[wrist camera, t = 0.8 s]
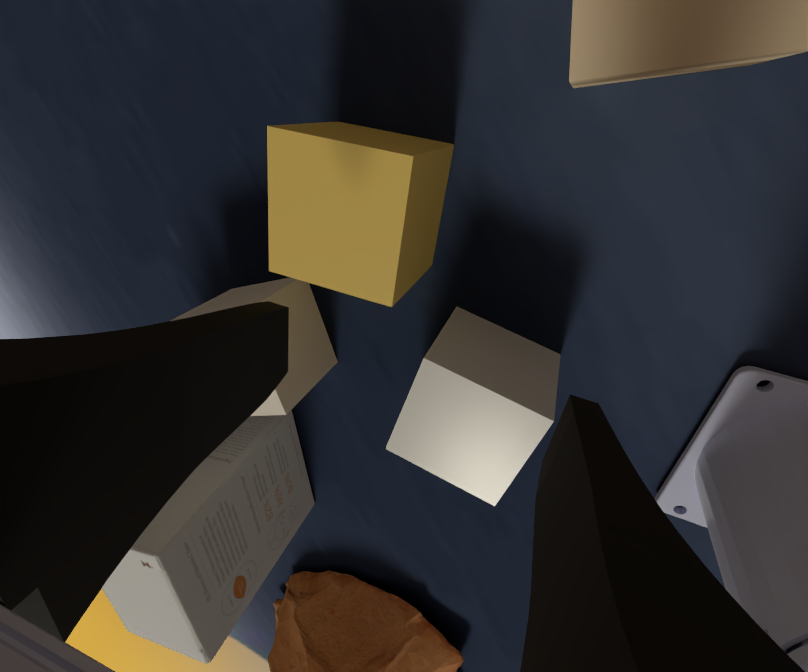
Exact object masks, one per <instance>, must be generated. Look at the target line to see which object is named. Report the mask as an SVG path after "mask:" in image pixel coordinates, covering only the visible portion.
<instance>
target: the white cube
mask: <svg viewBox="0 0 808 672" xmlns="http://www.w3.org/2000/svg"><path fill="white" fill-rule="evenodd" d="M266 301H270V302H273V303H276V304H280V305H283V306H286V307H289V338H288V373H287V374H286V375H285V377H284V378H283V379H282V381H281V382H280V383H279V385H278V386H277V387H276V389H275V390H274V391H273V392H272V394H271V395H270V396H269V397H268V399H267V400H266V401H265V402H264V403H263V404H262V405H261V406H260V407H259V408H258V409H257V410H256V411H255V412H254V413H253V414H252V415H251V416H269V415H287V414H288V413H289V412H290V411H291V410H292V409H293V408H294V406H295V405H296V404H297V403H298V402H299V401H300V400H301V399H302V398H303V397H304V396H305V395H306V394H307V393H308V392H309V391H310V390H311V389H312V388H313V387H314V386H315V385H316V384H317V383H318V382H319V381H320V380H321V379H322V378H323V376H324V375H325V374H326V373H327V372H328V371H329V370H330V369H331V368H332V367H333V366H334V365H335V364H336V363H337V362H338V361H337V359H336V356H335V353H334V351H333V348H332V345H331V342H330V340H329V337H328V334H327V331H326V329H325V326H324V323H323V320H322V318H321V315H320V312H319V309H318V307H317V304H316V301H315V298H314V296H313V293H312V290H311V287H310V285H309V283H308V282H304V281H301V280H298V279H294V278H291V277H290V278H285V279H280V280H274V281H269V282H264V283H259V284H254V285H249V286H244V287H239V288H234V289H230V290H229V291H227V292H225V293H223V294H221V295H219V296H217V297H215V298H213V299H211V300H209V301H207V302H205V303H203V304H202V305H200V306H198V307H196V308H194V309H192V310H190V311H188V312H186V313H184V314H182V315H180V316H178V317H177V318H175V319H173V320H171V321H174V320H179V319H184V318H189V317H193V316H197V315H202V314H206V313H211V312H215V311H219V310H224V309H228V308H233V307H237V306H242V305H247V304H252V303H258V302H266Z"/></svg>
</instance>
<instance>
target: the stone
mask: <svg viewBox="0 0 808 672" xmlns="http://www.w3.org/2000/svg"><path fill="white" fill-rule="evenodd" d="M286 586H287V589H286V592H285V597H284V599H283V600H282V599H277V600H276V601H275V603H274V607H275V617H276V634H275V641H274V645H273V647H272V650H271V652H270V654H269V656H268V663H269V666H270V671H271V672H456V671H457V669H458V668H459V667H460V666H461V664H462V662H463V656H462V655H461V654H460V652H459V651H458V650H457V649H456V648H455V647H454V646H452V645H451V644H450V643H449V642H448V641H447V640H446V639H445V637H444V636H443V635H442V634H441V633H440V632H439V631H438V630H437V629H436V628H435V627H434V626H433V625H432V624H431V623H429V622H428V621H427V620H426V619H425V618H424V617H423V616H422V614H421V613H420V612H419V611H418V610H417V609H416V608H415V607H413V606H412V605H410V604H409V603H407V602H405V601H404V600H402V599H401V598H399V597H397V596H395V595H393V594H390V593H386V592H385V591H383V590H381V589H379V588H377V587H374V586H372V585H369V584H367V583H365V582H363V581H361V580H359V579H357V578H355V577H354V576H351V575H348V574H341V573H338V572H333V571H330V570H329V571H325V572H322V573H313V572H308V571H302V572H299V573H296V574H293V575H291V576H290V577H289V581H288V582H286Z"/></svg>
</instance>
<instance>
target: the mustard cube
mask: <svg viewBox="0 0 808 672" xmlns="http://www.w3.org/2000/svg"><path fill="white" fill-rule="evenodd" d="M453 148H454V144H450V143H445V142H440V141H435V140H430V139H425V138H420V137H415V136H410V135H404V134H399V133H394V132H389V131H384V130H379V129H374V128H369V127H364V126H359V125H354V124H349V123H343V122H322V123H306V124H291V125H275V126H267V151H268V233H269V271H270V272H274V273H277V274H281V275H284V276H287V277H291V278H294V279H298V280H301V281H304V282H308V283H311V284H315V285H318V286H321V287H325V288H328V289H332V290H335V291H338V292H342V293H345V294H349V295H352V296H355V297H359V298H362V299H366V300H369V301H372V302H376V303H379V304H383V305H386V306H389V307H393V305H394V304H395V303H396V302H397V301H398V300H399V299H400V298H401V297H402V296H403V295H404V294H405V293H406V292H407V291H408V290H409V289H410V288H411V287H412V286H413V285H414V283H415V282H416V281H417V280H418V279H419V278H420V277H421V276H422V275H423V274H424V273H425V272H426V271H427V270H428V269H429V268H430V267H431V266H432V263H433V257H434V252H435V246H436V241H437V235H438V230H439V225H440V219H441V214H442V208H443V203H444V197H445V192H446V186H447V181H448V176H449V170H450V165H451V159H452V154H453Z"/></svg>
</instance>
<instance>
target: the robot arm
mask: <svg viewBox="0 0 808 672" xmlns="http://www.w3.org/2000/svg"><path fill="white" fill-rule="evenodd" d="M288 338H289V307H286V306H283V305H280V304H276V303H273V302H270V301H266V302H258V303H252V304H247V305H242V306H237V307H233V308H228V309H224V310H219V311H215V312H211V313H206V314H202V315H197V316H193V317H189V318H184V319H179V320H174V321H169V322H164V323H158V324H153V325H148V326H143V327H137V328H131V329H125V330H118V331H110V332H102V333H94V334H85V335H72V336H58V337H44V338H30V339H0V672H115V671H113V670H111V669H110V668H108V667H106V666H104V665H103V664H101V663H99V662H98V661H96V660H94V659H92V658H91V657H89V656H87V655H86V654H84V653H82V652H80V651H79V650H77V649H75V648H74V647H72V646H70V645H69V644H66V643H65V641H66V640H67V638H68V636H69V635H70V634H71V632H72V630H73V629H74V627H75V626H76V624H77V623H78V621H79V620H80V619H81V617H82V616H83V614H84V613H85V611H86V610H87V608H88V607H89V606H90V604H91V602H92V601H93V600H94V598H95V597H96V595H97V594H98V593H99V591H100V590H101V588H102V587H103V585H104V584H105V582H106V581H107V580H108V578H109V577H110V575H111V574H112V573H113V571H114V570H115V569H116V567H117V566H118V565H119V563H120V562H121V561H122V559H123V558H124V557H125V555H126V554H127V553H128V551H129V550H130V549H131V547H132V546H133V545H134V543H135V542H136V541H137V539H138V538H139V537H140V535H141V534H142V533H143V532H144V530H145V529H146V528H147V527H148V525H149V524H150V523H151V522H152V520H153V519H154V518H155V517H156V515H157V514H158V513H159V512H160V510H161V509H162V508H163V507H164V505H165V504H166V503H167V502H168V500H169V499H170V498H171V497H172V496H173V495H174V493H175V492H176V491H177V490H178V489H179V487H180V486H181V485H182V484H183V483H184V482H185V480H186V479H187V478H188V477H189V476H190V475H191V473H192V472H193V471H194V470H195V469H196V468H197V467H198V466H199V465H200V464H201V463H202V462H203V461H204V460H205V459H206V458H207V457H208V456H209V455H210V454H211V453H212V452H213V451H214V450H215V449H216V448H217V447H218V446H219V445H220V444H221V443H222V442H223V441H224V440H225V439H227V438H228V437H229V436H230V435H231V434H232V433H233V432H234V431H235V430H236V429H237V428H238V427H239V426H240V425H241V424H242V423H243V422H244V421H245V420H246V419H247V418H249V417H250V416H251V415H252V414H253V413H254V412H255V411H256V410H257V409H258V408H259V407H260V406H261V405H262V404H263V403H264V402H265V401H266V400H267V399H268V397H269V396H270V395H271V394H272V392H273V391H274V390H275V389H276V387H277V386H278V385H279V383H280V382H281V381H282V379H283V378H284V377H285V375H286V374H287V373H288ZM763 380H769V381H770V383H769V384H767V385H766V386H763V387H760V386H757V383H759V382H760V381H763ZM679 505H680V506H684V507H681V508H678V507H675V506H679ZM664 513H667V514H670V515H673V516H676V517H678V518H681V519H684V520H687V521H690V522H693V523H695V524H698V525H701V526H704V527H707V528H708V530H709V534H710V537H711V541H712V544H713V548H714V551H715V554H716V558H717V561H718V565H719V568H720V572H721V575H722V578H723V582H724V585H725V588H724V587H723V586H722V585H721V584H720V582H719V581H718V580H717V579H716V578H715V577H714V575H713V574H712V573H711V572H710V571H709V570H708V569H707V567H706V566H705V565H704V564H703V563H702V561H701V560H700V559H699V558H698V556H697V555H696V554H695V553H694V551H693V550H692V549H691V548H690V546H689V545H688V544H687V543H686V541H685V540H684V539H683V538H682V536H681V535H680V534H679V533H678V531H677V530H676V529H675V527H674V526H673V525H672V523H671V522H670V521H669V519H668V518H667V516H666V515H665V514H664ZM520 672H808V381H806V380H802V379H798V378H795V377H791V376H787V375H784V374H780V373H776V372H773V371H769V370H765V369H762V368H758V367H754V366H744V367H741V368H739V369H737V370H736V371H735V372H734V373H733V374H732V375H731V377H730V379H729V380H728V382H727V383H726V385H725V387H724V388H723V390H722V391H721V393H720V395H719V396H718V398H717V399H716V401H715V402H714V404H713V406H712V407H711V409H710V410H709V412H708V414H707V415H706V417H705V418H704V420H703V422H702V423H701V425H700V426H699V428H698V430H697V431H696V433H695V434H694V436H693V437H692V439H691V441H690V442H689V444H688V445H687V447H686V449H685V450H684V452H683V453H682V455H681V457H680V458H679V460H678V461H677V463H676V464H675V466H674V468H673V469H672V471H671V472H670V474H669V476H668V477H667V479H666V480H665V482H664V484H663V485H662V487H661V488H660V490H659V492H658V493H657V495H656V497H655V499H654V498H653V496H652V495H651V493H650V492H649V490H648V489H647V487H646V486H645V484H644V483H643V481H642V479H641V478H640V476H639V475H638V473H637V472H636V470H635V468H634V467H633V465H632V463H631V462H630V460H629V458H628V457H627V455H626V453H625V451H624V450H623V448H622V446H621V444H620V442H619V441H618V439H617V437H616V435H615V433H614V431H613V430H612V428H611V426H610V424H609V422H608V420H607V418H606V417H605V415H604V413H603V411H602V409H601V407H600V406H599V404H598V403H595V402H592V401H589V400H585V399H582V398H579V397H576V396H573V395H570V396H569V398H568V401H567V403H566V406H565V408H564V411H563V413H562V415H561V418H560V420H559V423H558V425H557V427H556V430H555V432H554V435H553V437H552V440H551V442H550V444H549V447H548V449H547V452H546V454H545V456H544V459H543V462H542V467H541V473H540V478H539V483H538V489H537V495H536V503H535V521H534V540H533V560H532V581H531V597H530V608H529V618H528V624H527V631H526V638H525V644H524V651H523V658H522V664H521V670H520Z"/></svg>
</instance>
